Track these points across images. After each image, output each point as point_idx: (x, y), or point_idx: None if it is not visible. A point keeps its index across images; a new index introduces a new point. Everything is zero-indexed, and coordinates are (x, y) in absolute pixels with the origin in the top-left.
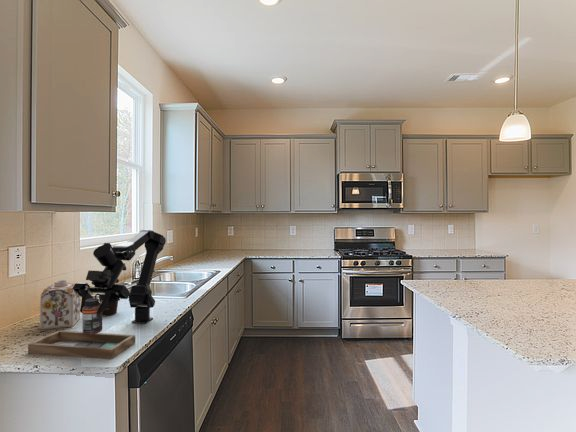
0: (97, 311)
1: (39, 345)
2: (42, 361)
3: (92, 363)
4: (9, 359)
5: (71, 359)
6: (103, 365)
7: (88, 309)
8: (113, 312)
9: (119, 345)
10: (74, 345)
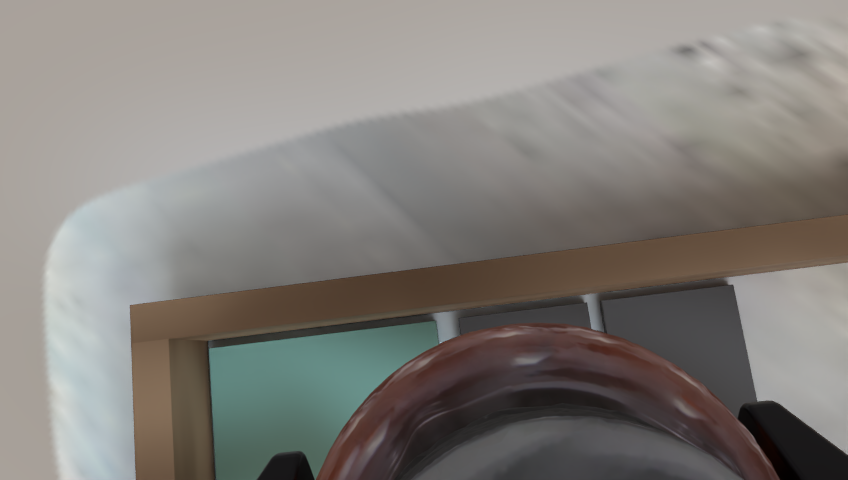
0: (292, 459)
1: None
2: (715, 111)
3: (274, 200)
4: None
5: (509, 211)
6: (162, 196)
7: (456, 347)
8: None
9: (135, 431)
10: None
